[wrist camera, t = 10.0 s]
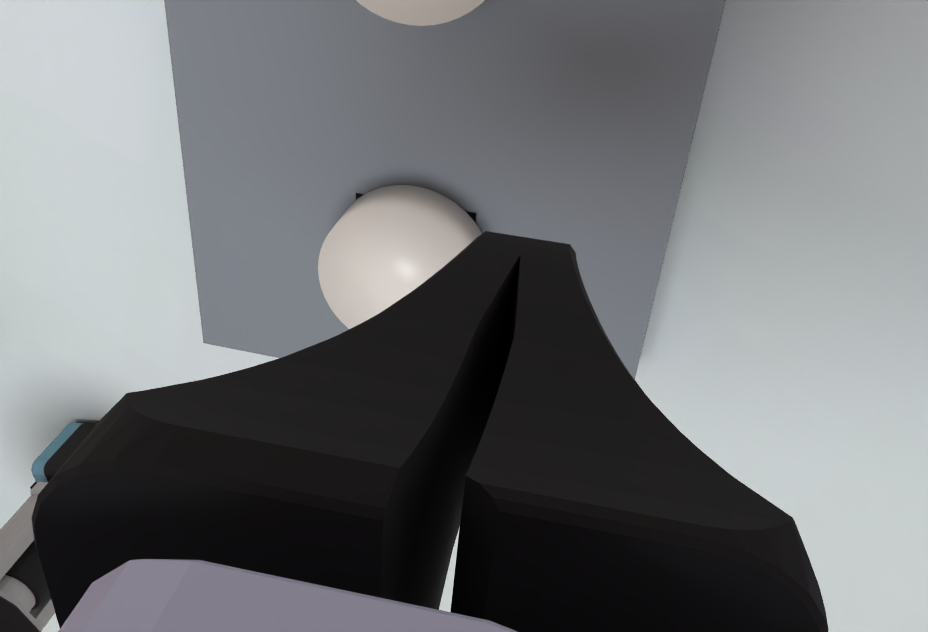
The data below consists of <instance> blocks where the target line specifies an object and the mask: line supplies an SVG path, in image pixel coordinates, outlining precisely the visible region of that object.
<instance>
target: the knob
mask: <svg viewBox="0 0 928 632" xmlns="http://www.w3.org/2000/svg"><path fill="white" fill-rule="evenodd" d="M481 234H482V233H481V231H480V229H479V227H478V226H477V225H476V223H475V222H474V221H473V219H472V218H471V217H470V216H469V215H468V214H467V213H466V212H465V211H464V210H463V209H462V208H461V207H460V206H459V205H457V204H456V203H455V202H453V201H452V200H450V199H449V198H447V197H445V196H443V195H441V194H439V193H437V192H435V191H432V190H429V189H426V188H422V187H418V186H411V185H391V186H385V187H381V188H378V189H374V190H372V191H370V192H368V193H366V194H364V195H363V196H361V197H359V198H358V199H357V200H356V201H354V202H353V203H352V204H351V205H350V206H349V208H348V209H347V210H346V211H345V213H344V214H343V215H342V216H341V218H340V219H339V220H338V222H337V223H336V224H335V226H334V227H333V228H332V230H331V231H330V232H329V234H328V235H327V237H326V239H325V240H324V242H323V245H322V247H321V250H320V255H319V259H318V275H319V281H320V286H321V289H322V292H323V294H324V297H325V299H326V301H327V303H328V305H329V306H330V308H331V309H332V311H333V312H334V314H335V315H336V316H337V317H338V319H339V320H340V321H341V322H342V323H343V324H344V325H345V326H346V327H347V328H348V329H351V328H353V327H355V326H357V325H359V324H361V323H363V322H365V321H366V320H368V319H370V318H372V317H374V316H375V315H377V314H379V313H380V312H382V311H384V310H385V309H387V308H388V307H390V306H391V305H392V304H394V303H395V302H397V301H398V300H400V299H401V298H403V297H404V296H406V295H407V294H409V293H410V292H412V291H413V290H414V289H416V288H417V287H418V286H420V285H421V284H422V283H424V282H425V281H426V280H427V279H429V278H430V277H431V276H433V275H434V274H435V273H436V272H438V271H439V270H440V269H441V268H443V267H444V266H445V265H446V264H447V263H449V262H450V261H451V260H452V259H453V258H454V257H456V256H457V255H458V254H459V253H460V252H461V251H462V250H464V249H465V248H466V247H467V246H468V245H469V244H470V243H471V242H472V241H473V240H475V239H476V238H477V237H478V236H479V235H481Z"/></svg>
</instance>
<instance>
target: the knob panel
mask: <svg viewBox="0 0 928 632" xmlns="http://www.w3.org/2000/svg"><path fill="white" fill-rule="evenodd" d="M164 1H165V9H166V18H167V27H168V36H169V44H170V53H171V62H172V71H173V79H174V88H175V97H176V106H177V114H178V123H179V132H180V141H181V149H182V158H183V167H184V176H185V185H186V193H187V202H188V211H189V220H190V228H191V237H192V246H193V255H194V263H195V272H196V281H197V290H198V298H199V307H200V316H201V325H202V333H203V342H204V343H206V344H211V345H216V346H222V347H227V348H232V349H237V350H242V351H247V352H252V353H257V354H262V355H267V356H272V357H278V358H282V357H285V356H287V355H290V354H292V353H295V352H297V351H300V350H302V349H305V348H307V347H310V346H312V345H315V344H317V343H320V342H323V341H325V340H328V339H330V338H332V337H334V336H337V335H339V334H341V333H343V332H345V331H347V330H349V329H348V328H347V327H346V326H345V325H344V324H343V323H342V322H341V321H340V320H339V319H338V317H337V316H336V315H335V314H334V312H333V311H332V309H331V308H330V306H329V305H328V303H327V301H326V299H325V297H324V294H323V292H322V289H321V286H320V281H319V275H318V259H319V255H320V250H321V247H322V245H323V242H324V240H325V239H326V237H327V235H328V234H329V232H330V231H331V230H332V228H333V227H334V226H335V224H336V223H337V222H338V220H339V219H340V218H341V216H342V215H343V214H344V213H345V211H346V210H347V209H348V208H349V206H350V205H351V204H352V203H353V202H354V201H356V200H357V199H358V198H359V197H361V196H363V195H364V194H366V193H368V192H370V191H372V190H374V189H378V188H381V187H385V186H391V185H411V186H418V187H422V188H426V189H429V190H432V191H435V192H437V193H439V194H441V195H443V196H445V197H447V198H449V199H450V200H452V201H453V202H455V203H456V204H457V205H459V206H460V207H461V208H462V209H463V210H464V211H465V212H466V213H467V214H468V215H469V216H470V217H471V218H472V219H473V221H474V222H475V223H476V225H477V226H478V227H479V229H480V231H481V233H484V232H485V231H489V232H495V233H502V234H508V235H514V236H521V237H527V238H534V239H540V240H546V241H553V242H559V243H565V244H570V245H571V247H572V248H573V249H574V251H575V252H576V259H577V264H578V268H579V272H580V275H581V278H582V281H583V284H584V287H585V290H586V292H587V295H588V297H589V300H590V302H591V304H592V306H593V308H594V311H595V313H596V315H597V317H598V319H599V321H600V324H601V326H602V327H603V329H604V331H605V333H606V335H607V337H608V339H609V340H610V342H611V344H612V346H613V347H614V349H615V351H616V352H617V354H618V356H619V357H620V359H621V361H622V362H623V364H624V365H625V367H626V368H627V370H628V371H629V373H630V374H631V376H632V377H633V378H634V380H635V375H636V371H637V367H638V363H639V359H640V355H641V350H642V346H643V342H644V338H645V334H646V330H647V326H648V321H649V317H650V313H651V309H652V305H653V301H654V296H655V292H656V288H657V284H658V280H659V276H660V271H661V267H662V263H663V259H664V255H665V251H666V246H667V242H668V238H669V234H670V230H671V226H672V222H673V217H674V213H675V209H676V205H677V201H678V197H679V192H680V188H681V184H682V180H683V176H684V172H685V167H686V163H687V159H688V155H689V151H690V147H691V142H692V138H693V134H694V130H695V126H696V122H697V118H698V113H699V109H700V105H701V101H702V97H703V93H704V88H705V84H706V80H707V76H708V72H709V68H710V63H711V59H712V55H713V51H714V47H715V43H716V38H717V34H718V30H719V26H720V22H721V18H722V14H723V9H724V5H725V1H726V0H485V1H484V2H483V3H482V4H480V5H479V6H478V7H476V8H475V9H474V10H472V11H471V12H469V13H467V14H465V15H463V16H462V17H460V18H457V19H455V20H452V21H449V22H446V23H442V24H437V25H428V26H415V25H406V24H401V23H397V22H394V21H391V20H388V19H385V18H383V17H381V16H379V15H377V14H375V13H373V12H371V11H369V10H368V9H367V8H365V7H364V6H362V5H361V4H359V3H358V2H357V1H356V0H164Z"/></svg>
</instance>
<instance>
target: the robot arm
mask: <svg viewBox="0 0 928 632" xmlns="http://www.w3.org/2000/svg"><path fill="white" fill-rule="evenodd" d="M31 518H32V526H33V534H34V542H35V546H36V550H37V553H38V556H39V560H40V563H41V566H42V570H43V573H44V576H45V580H46V583H47V586H48V590H49V593H50V596H51V600H52V603H53V607H54V610H55V613H56V617H57V620H58V623H59V627H60V630H59V631H58V632H828V624H827V618H826V612H825V607H824V603H823V600H822V596H821V592H820V588H819V585H818V582H817V579H816V577H815V574H814V571H813V568H812V566H811V563H810V560H809V557H808V555H807V552H806V550H805V547H804V544H803V542H802V539H801V536H800V534H799V531H798V529H797V526H796V524H795V521H794V520H793V518H792V517H791V516H789V515H788V514H786V513H785V512H784V511H782V510H781V509H779V508H778V507H776V506H775V505H773V504H772V503H770V502H769V501H767V500H766V499H765V498H763V497H762V496H760V495H759V494H757V493H756V492H754V491H753V490H751V489H750V488H748V487H747V486H746V485H744V484H743V483H741V482H740V481H738V480H737V479H735V478H734V477H733V476H731V475H730V474H729V473H727V472H726V471H725V470H724V469H723V468H721V467H720V466H719V465H718V464H717V463H715V462H714V461H713V460H712V459H710V458H709V457H708V456H707V455H706V454H704V453H703V452H702V451H701V450H700V449H698V448H697V447H696V446H695V445H694V444H693V443H692V442H691V441H690V440H689V439H688V438H686V437H685V436H684V435H683V434H682V433H681V432H680V431H679V430H678V429H677V428H676V427H675V426H674V425H673V424H672V423H671V422H670V421H669V420H668V419H667V418H666V417H665V415H664V414H663V413H662V412H661V411H660V410H659V409H658V408H657V407H656V406H655V405H654V404H653V403H652V402H651V400H650V399H649V398H648V397H647V396H646V395H645V393H644V392H643V390H642V389H641V388H640V386H639V385H638V384H637V382H636V381H635V380H634V378H633V377H632V376H631V374H630V373H629V371H628V370H627V368H626V367H625V365H624V364H623V362H622V361H621V359H620V357H619V356H618V354H617V352H616V351H615V349H614V347H613V346H612V344H611V342H610V340H609V339H608V337H607V335H606V333H605V331H604V329H603V327H602V326H601V324H600V321H599V319H598V317H597V315H596V313H595V311H594V308H593V306H592V304H591V302H590V300H589V297H588V295H587V292H586V290H585V287H584V284H583V281H582V278H581V275H580V272H579V268H578V264H577V259H576V252H575V251H574V249H573V248H572V247H571V245H570V244H565V243H559V242H553V241H546V240H540V239H534V238H527V237H521V236H514V235H508V234H502V233H495V232H489V231H485V232H484V233H482V234H481V235H479V236H478V237H477V238H476V239H475V240H473V241H472V242H471V243H470V244H469V245H468V246H467V247H466V248H465V249H464V250H462V251H461V252H460V253H459V254H458V255H457V256H456V257H454V258H453V259H452V260H451V261H450V262H449V263H447V264H446V265H445V266H444V267H443V268H441V269H440V270H439V271H438V272H436V273H435V274H434V275H433V276H431V277H430V278H429V279H427V280H426V281H425V282H424V283H422V284H421V285H420V286H418V287H417V288H416V289H414V290H413V291H412V292H410V293H409V294H407V295H406V296H404V297H403V298H401V299H400V300H398V301H397V302H395V303H394V304H392V305H391V306H390V307H388V308H387V309H385V310H384V311H382V312H380V313H379V314H377V315H375V316H374V317H372V318H370V319H368V320H366V321H365V322H363V323H361V324H359V325H357V326H355V327H353V328H351V329H349V330H347V331H345V332H343V333H341V334H339V335H337V336H334V337H332V338H330V339H328V340H325V341H323V342H320V343H317V344H315V345H312V346H310V347H307V348H305V349H302V350H300V351H297V352H295V353H292V354H290V355H287V356H285V357H282V358H279V359H276V360H273V361H270V362H267V363H263V364H260V365H257V366H254V367H251V368H247V369H243V370H239V371H236V372H232V373H228V374H225V375H221V376H217V377H212V378H208V379H204V380H199V381H194V382H188V383H183V384H177V385H172V386H167V387H161V388H156V389H150V390H145V391H138V392H132V393H127V394H126V395H125V396H124V397H123V398H122V399H121V400H120V401H119V402H118V403H117V404H116V405H115V406H114V407H113V408H112V409H111V410H110V411H109V412H108V413H107V414H106V415H105V416H104V417H103V418H102V419H101V420H100V421H99V422H98V423H97V425H96V426H95V427H94V428H93V429H92V431H91V432H90V433H89V434H88V435H87V437H86V438H85V439H84V440H83V442H82V443H81V444H80V445H79V446H78V447H77V449H76V450H75V451H74V452H73V453H72V455H71V456H70V457H69V458H68V459H67V461H66V462H65V463H64V464H63V465H62V467H61V468H60V469H59V470H58V471H57V473H56V474H55V475H54V476H53V477H52V479H51V480H50V481H49V482H48V483H47V485H46V486H45V487H44V488H43V489H42V491H41V492H40V493H39V494H38V496H37V500H36V503H35V507H34V510H33V514H32V517H31ZM459 526H460V530H459V539H458V549H457V558H456V567H455V576H454V586H453V595H452V604H451V612H446V611H441V610H439V606H440V601H441V597H442V593H443V588H444V584H445V580H446V575H447V571H448V567H449V563H450V558H451V554H452V550H453V546H454V543H455V540H456V536H457V533H458V529H459Z"/></svg>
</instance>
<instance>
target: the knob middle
mask: <svg viewBox="0 0 928 632" xmlns="http://www.w3.org/2000/svg"><path fill="white" fill-rule="evenodd" d="M356 1H357V2H358V3H359V4H361V5H362V6H364V7H365V8H367V9H368V10H369V11H371V12H373V13H375V14H377V15H379V16H381V17H383V18H385V19H388V20H391V21H394V22H397V23H401V24H406V25H415V26H428V25H437V24H442V23H446V22H449V21H452V20H455V19H457V18H460V17H462V16H463V15H465V14H467V13H469V12H471V11H472V10H474V9H475V8H476V7H478V6H479V5H480V4H482V3H483V2H484V1H485V0H356Z"/></svg>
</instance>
